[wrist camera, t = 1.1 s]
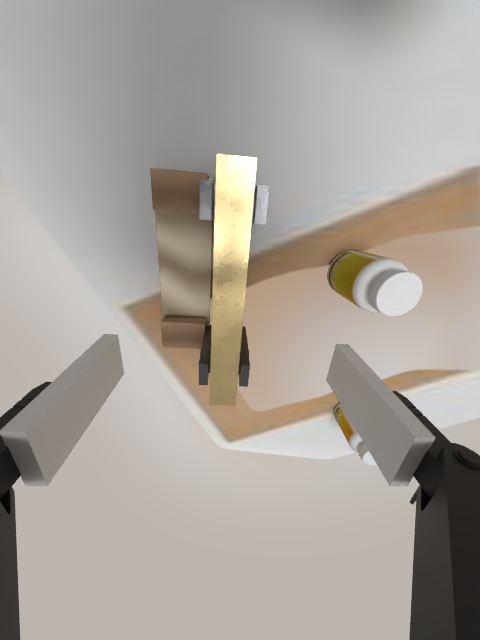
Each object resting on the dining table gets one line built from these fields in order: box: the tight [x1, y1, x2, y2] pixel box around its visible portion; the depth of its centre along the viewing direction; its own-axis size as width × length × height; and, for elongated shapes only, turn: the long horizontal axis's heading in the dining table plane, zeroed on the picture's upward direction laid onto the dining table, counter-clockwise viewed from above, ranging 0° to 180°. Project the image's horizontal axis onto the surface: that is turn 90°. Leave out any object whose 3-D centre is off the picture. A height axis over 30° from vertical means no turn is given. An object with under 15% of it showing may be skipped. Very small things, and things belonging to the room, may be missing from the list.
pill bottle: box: [327, 250, 423, 316], centre depth 28 cm, size 6×6×11 cm
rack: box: [199, 179, 270, 386], centre depth 28 cm, size 22×6×10 cm, turn 176°
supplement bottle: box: [334, 403, 377, 466], centre depth 40 cm, size 5×5×10 cm
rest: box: [150, 168, 213, 349], centre depth 30 cm, size 22×7×3 cm, turn 176°
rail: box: [209, 154, 257, 406], centre depth 23 cm, size 24×3×4 cm, turn 176°
